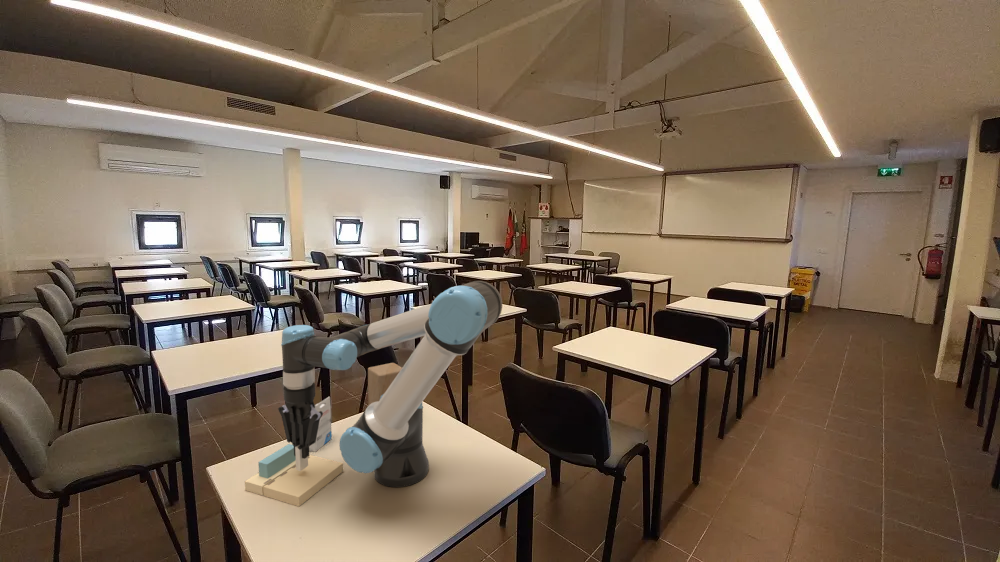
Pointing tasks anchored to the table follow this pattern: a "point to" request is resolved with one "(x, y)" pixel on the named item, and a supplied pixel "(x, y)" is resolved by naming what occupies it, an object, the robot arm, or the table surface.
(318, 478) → the beige flat slab
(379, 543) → the table surface
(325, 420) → the ink box
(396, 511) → the table surface
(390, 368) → the wooden block
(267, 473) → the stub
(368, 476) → the table surface
